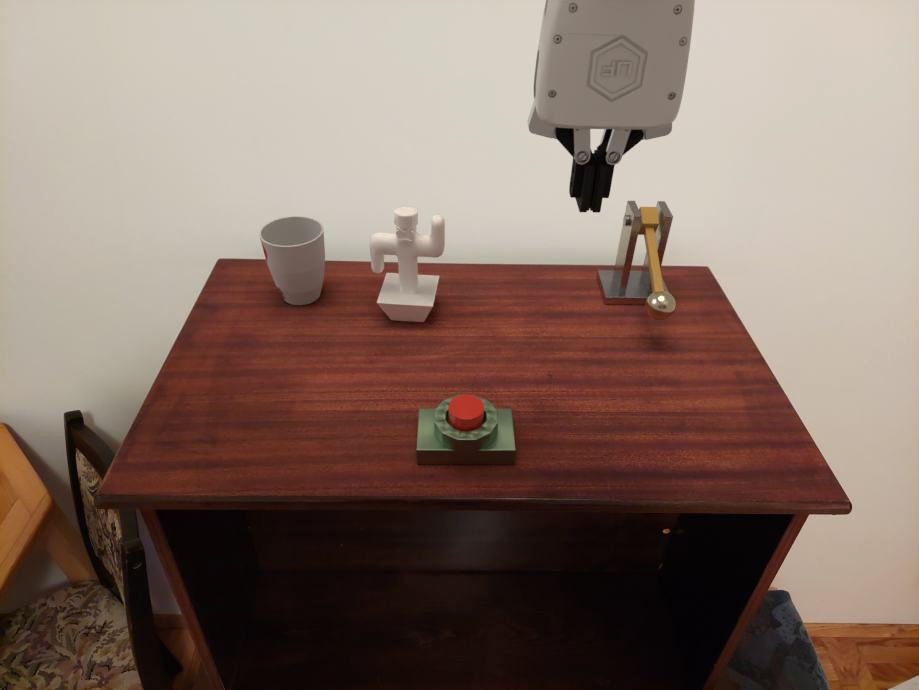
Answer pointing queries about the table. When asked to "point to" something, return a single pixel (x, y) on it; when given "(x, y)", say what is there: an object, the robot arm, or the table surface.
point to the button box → (465, 437)
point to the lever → (655, 268)
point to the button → (466, 412)
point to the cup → (295, 257)
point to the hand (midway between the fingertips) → (587, 204)
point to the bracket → (622, 281)
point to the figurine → (407, 266)
